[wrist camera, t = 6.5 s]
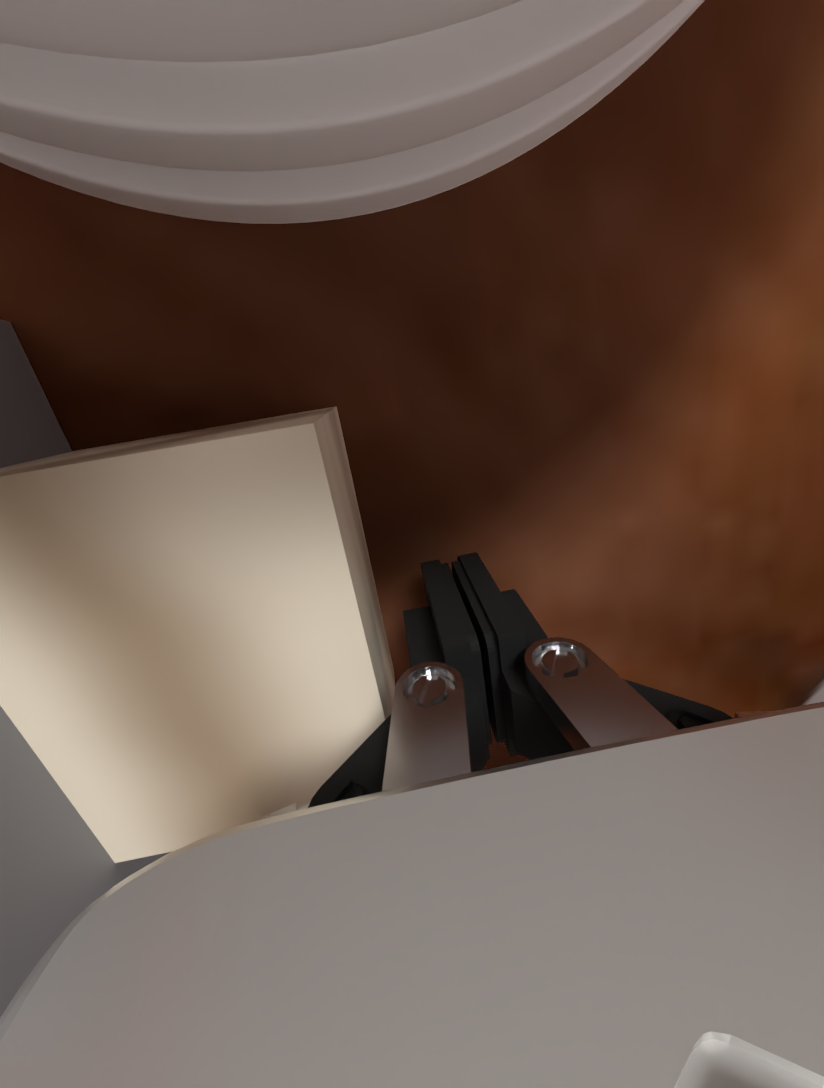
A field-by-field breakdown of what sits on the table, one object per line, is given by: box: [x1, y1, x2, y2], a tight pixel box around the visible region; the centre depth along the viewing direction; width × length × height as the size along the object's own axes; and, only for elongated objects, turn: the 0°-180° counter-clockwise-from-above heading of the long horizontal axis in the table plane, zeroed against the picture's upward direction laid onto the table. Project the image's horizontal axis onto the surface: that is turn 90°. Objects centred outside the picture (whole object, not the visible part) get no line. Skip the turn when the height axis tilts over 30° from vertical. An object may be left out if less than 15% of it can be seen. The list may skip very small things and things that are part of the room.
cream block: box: [0, 406, 395, 863], centre depth 10 cm, size 7×9×5 cm
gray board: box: [0, 320, 173, 1017], centre depth 9 cm, size 3×18×8 cm, turn 9°
